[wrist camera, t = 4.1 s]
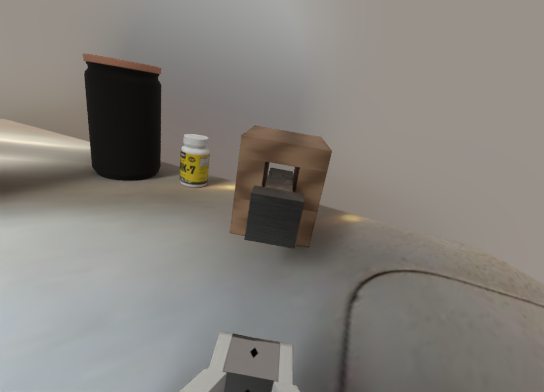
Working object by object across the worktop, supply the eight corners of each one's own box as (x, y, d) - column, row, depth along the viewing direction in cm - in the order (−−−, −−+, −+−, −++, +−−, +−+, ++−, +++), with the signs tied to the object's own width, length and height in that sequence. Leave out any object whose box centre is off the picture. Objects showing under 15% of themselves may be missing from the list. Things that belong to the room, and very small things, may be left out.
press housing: (230, 232, 33) (241, 135, 29) (244, 200, 43) (254, 125, 39) (308, 246, 33) (331, 151, 29) (304, 211, 43) (321, 137, 39)
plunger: (244, 239, 23) (251, 192, 21) (260, 193, 34) (265, 160, 33) (294, 248, 23) (304, 202, 21) (293, 199, 34) (300, 166, 33)
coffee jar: (167, 167, 53) (169, 70, 47) (149, 185, 43) (148, 64, 37) (110, 160, 52) (104, 58, 45) (78, 177, 42) (64, 49, 35)
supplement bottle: (173, 182, 46) (175, 133, 43) (193, 177, 50) (195, 132, 47) (194, 190, 44) (197, 140, 41) (212, 184, 48) (216, 138, 45)
